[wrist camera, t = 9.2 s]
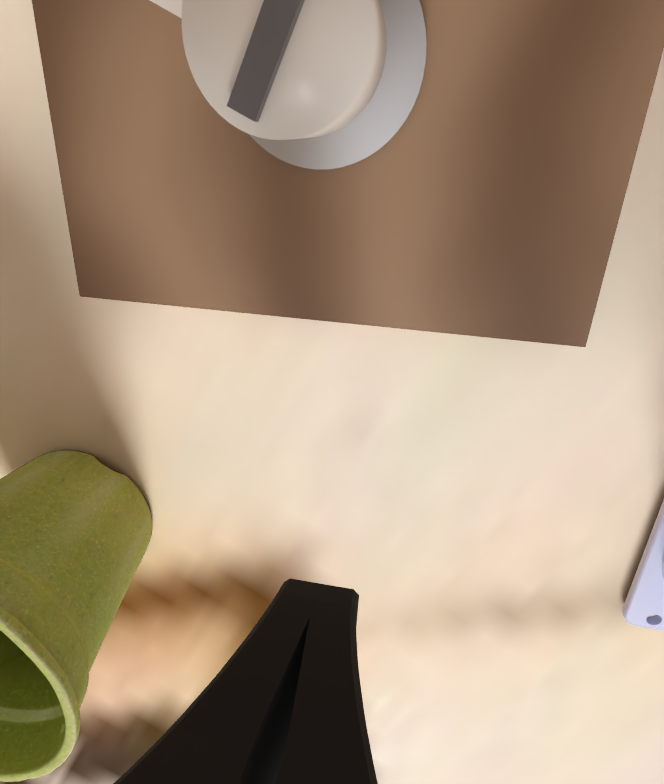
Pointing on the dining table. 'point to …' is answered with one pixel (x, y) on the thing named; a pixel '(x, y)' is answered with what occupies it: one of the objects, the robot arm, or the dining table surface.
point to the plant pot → (59, 596)
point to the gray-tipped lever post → (284, 61)
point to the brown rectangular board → (361, 169)
